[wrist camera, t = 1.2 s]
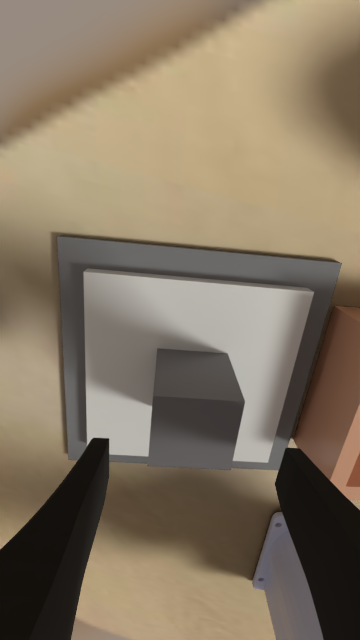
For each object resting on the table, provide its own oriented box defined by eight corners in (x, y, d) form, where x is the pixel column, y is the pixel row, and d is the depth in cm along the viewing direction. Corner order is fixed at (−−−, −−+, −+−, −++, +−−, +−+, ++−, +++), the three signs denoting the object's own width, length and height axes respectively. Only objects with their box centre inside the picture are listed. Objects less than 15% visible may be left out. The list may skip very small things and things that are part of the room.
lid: (264, 453, 21) (291, 528, 16) (90, 443, 20) (65, 519, 16) (307, 287, 17) (362, 324, 12) (87, 268, 16) (51, 298, 11)
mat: (278, 465, 22) (280, 470, 22) (70, 455, 21) (68, 459, 21) (338, 261, 17) (341, 263, 16) (59, 235, 16) (56, 236, 15)
